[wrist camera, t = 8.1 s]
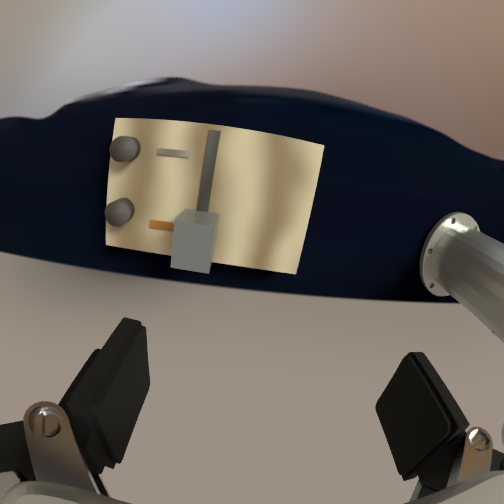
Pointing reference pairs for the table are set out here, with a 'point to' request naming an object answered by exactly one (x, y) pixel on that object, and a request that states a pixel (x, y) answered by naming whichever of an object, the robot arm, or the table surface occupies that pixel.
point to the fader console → (211, 189)
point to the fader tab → (194, 240)
